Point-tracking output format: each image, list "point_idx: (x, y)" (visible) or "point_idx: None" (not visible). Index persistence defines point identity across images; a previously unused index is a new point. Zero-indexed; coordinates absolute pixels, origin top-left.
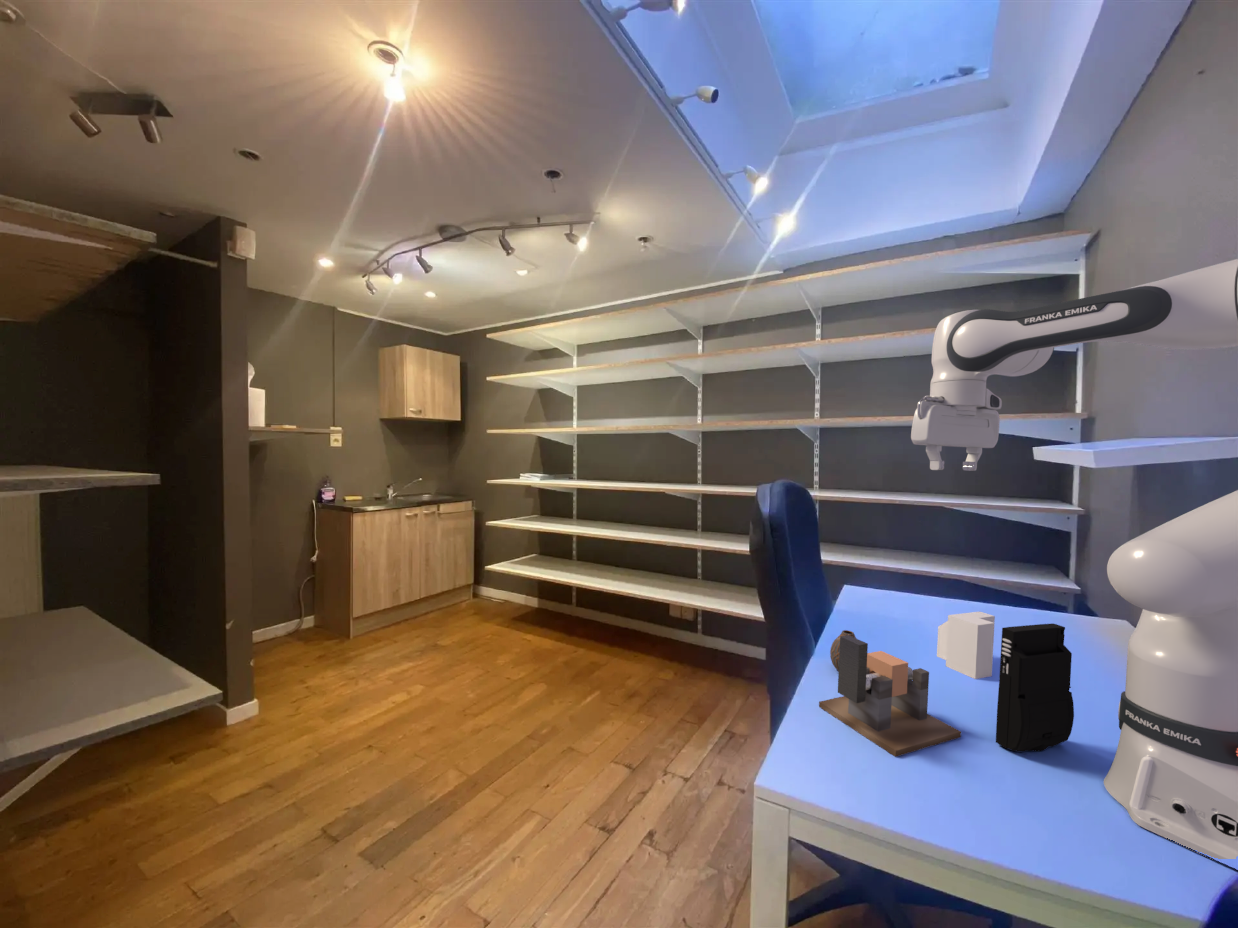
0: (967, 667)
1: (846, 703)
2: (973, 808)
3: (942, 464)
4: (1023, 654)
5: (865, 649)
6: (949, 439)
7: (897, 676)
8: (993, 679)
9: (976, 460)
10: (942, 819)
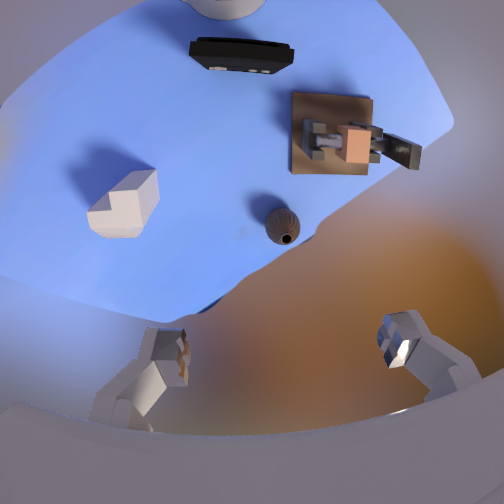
0: (154, 180)
1: (348, 163)
2: (371, 45)
3: (406, 326)
4: (279, 46)
5: (411, 143)
6: (465, 417)
7: (357, 128)
8: (137, 164)
9: (142, 364)
10: (397, 52)
